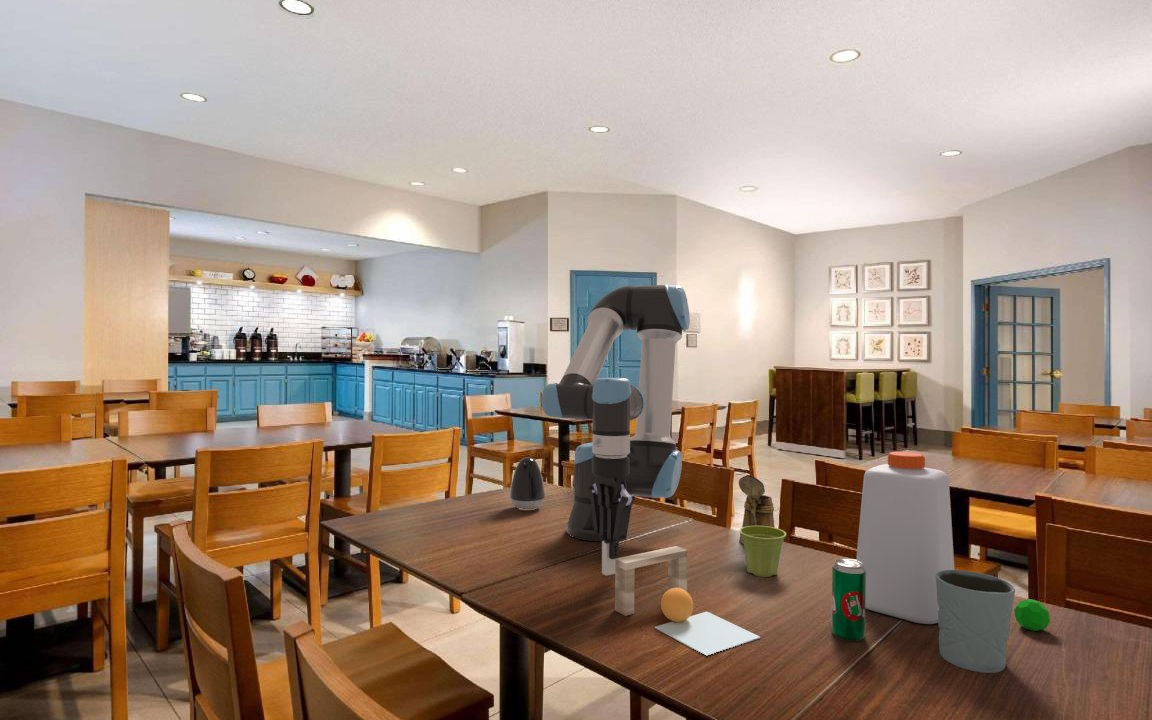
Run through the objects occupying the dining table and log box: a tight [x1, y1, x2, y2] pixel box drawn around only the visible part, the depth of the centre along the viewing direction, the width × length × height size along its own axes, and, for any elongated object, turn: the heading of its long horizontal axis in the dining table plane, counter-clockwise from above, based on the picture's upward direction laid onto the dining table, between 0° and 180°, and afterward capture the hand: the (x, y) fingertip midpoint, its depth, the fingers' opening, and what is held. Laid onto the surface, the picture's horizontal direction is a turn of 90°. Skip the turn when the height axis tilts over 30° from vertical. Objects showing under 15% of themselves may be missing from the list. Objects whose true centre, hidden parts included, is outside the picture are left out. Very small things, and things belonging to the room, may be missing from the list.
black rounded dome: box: [509, 457, 546, 509], centre depth 187 cm, size 10×10×15 cm
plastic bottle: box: [855, 451, 955, 625], centre depth 117 cm, size 15×15×28 cm
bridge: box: [614, 545, 688, 617], centre depth 117 cm, size 3×14×9 cm, turn 123°
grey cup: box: [936, 569, 1016, 674], centre depth 97 cm, size 10×10×12 cm
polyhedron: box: [1013, 598, 1051, 632], centre depth 108 cm, size 5×5×5 cm
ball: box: [660, 588, 694, 622], centre depth 110 cm, size 6×6×6 cm
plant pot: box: [739, 526, 787, 578], centre depth 135 cm, size 9×9×9 cm
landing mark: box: [654, 611, 761, 657], centre depth 105 cm, size 12×12×1 cm
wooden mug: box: [738, 474, 776, 545], centre depth 154 cm, size 9×14×18 cm, turn 148°
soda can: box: [830, 558, 866, 642], centre depth 105 cm, size 5×5×12 cm
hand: (609, 573), depth 128 cm, fingers closed
